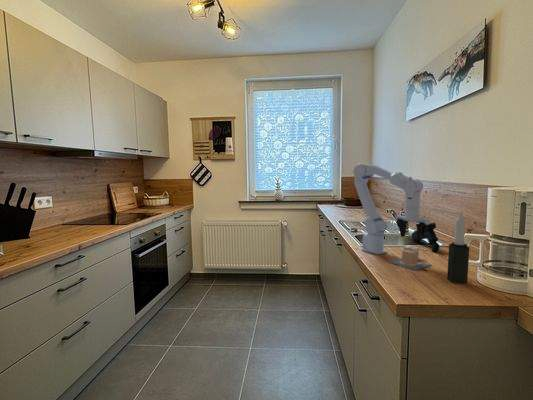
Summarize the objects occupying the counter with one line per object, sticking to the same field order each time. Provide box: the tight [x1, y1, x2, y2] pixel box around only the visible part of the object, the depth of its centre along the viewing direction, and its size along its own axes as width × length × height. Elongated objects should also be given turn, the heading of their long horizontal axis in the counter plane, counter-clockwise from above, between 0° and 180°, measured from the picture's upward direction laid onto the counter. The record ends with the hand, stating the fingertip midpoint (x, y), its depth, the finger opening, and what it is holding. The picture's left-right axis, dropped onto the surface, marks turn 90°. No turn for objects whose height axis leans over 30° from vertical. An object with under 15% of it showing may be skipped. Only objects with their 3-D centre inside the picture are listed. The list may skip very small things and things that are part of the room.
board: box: [388, 257, 432, 271], centre depth 120 cm, size 12×11×1 cm
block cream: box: [402, 244, 420, 253], centre depth 128 cm, size 4×4×5 cm
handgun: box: [411, 222, 440, 253], centre depth 148 cm, size 5×23×15 cm, turn 174°
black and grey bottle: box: [446, 211, 470, 285], centre depth 99 cm, size 5×5×25 cm
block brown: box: [401, 249, 420, 265], centre depth 119 cm, size 4×4×5 cm
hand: (410, 238), depth 124 cm, fingers open, 7 cm apart
